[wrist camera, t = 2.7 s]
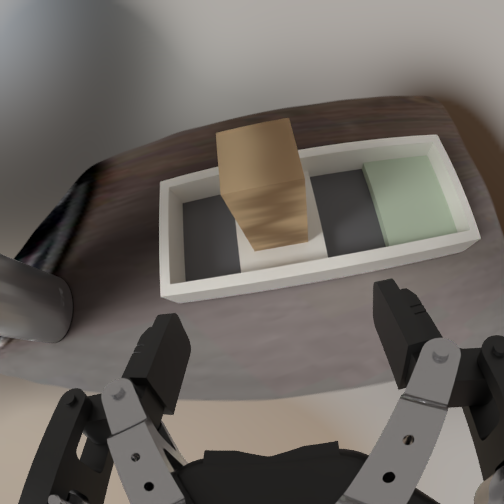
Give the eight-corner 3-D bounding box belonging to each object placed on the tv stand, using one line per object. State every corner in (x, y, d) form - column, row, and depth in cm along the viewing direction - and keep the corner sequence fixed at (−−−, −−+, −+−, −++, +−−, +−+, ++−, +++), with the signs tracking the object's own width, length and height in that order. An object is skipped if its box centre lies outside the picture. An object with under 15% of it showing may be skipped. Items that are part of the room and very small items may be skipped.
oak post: (254, 251, 27) (220, 194, 17) (248, 204, 29) (215, 133, 19) (308, 241, 27) (304, 178, 16) (298, 194, 28) (288, 117, 18)
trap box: (179, 303, 29) (160, 296, 25) (175, 198, 33) (160, 181, 29) (463, 251, 25) (480, 238, 21) (427, 155, 28) (436, 134, 25)
